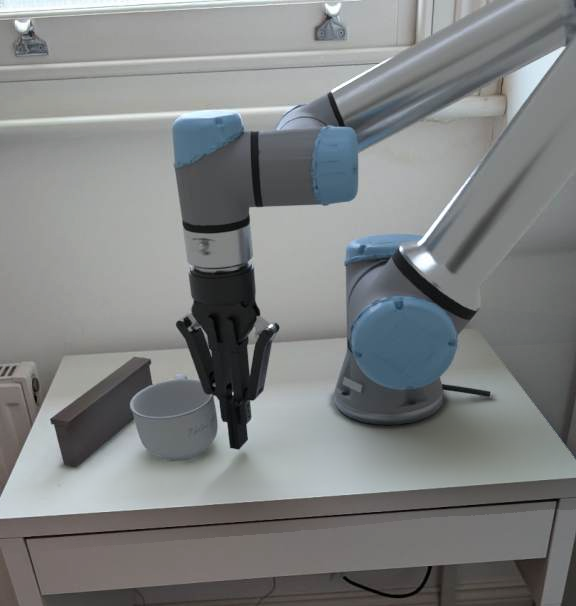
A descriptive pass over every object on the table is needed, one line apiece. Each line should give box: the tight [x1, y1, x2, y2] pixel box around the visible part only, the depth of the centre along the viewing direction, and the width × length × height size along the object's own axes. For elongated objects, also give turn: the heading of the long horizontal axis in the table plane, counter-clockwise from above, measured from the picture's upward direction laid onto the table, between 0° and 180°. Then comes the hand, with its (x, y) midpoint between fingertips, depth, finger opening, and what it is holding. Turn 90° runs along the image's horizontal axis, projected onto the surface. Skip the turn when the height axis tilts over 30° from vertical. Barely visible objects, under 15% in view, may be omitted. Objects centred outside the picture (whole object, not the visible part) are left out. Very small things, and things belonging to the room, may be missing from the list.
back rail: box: [49, 356, 154, 468], centre depth 111 cm, size 3×20×7 cm, turn 157°
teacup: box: [130, 373, 219, 461], centre depth 107 cm, size 14×11×8 cm
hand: (239, 443), depth 105 cm, fingers closed
